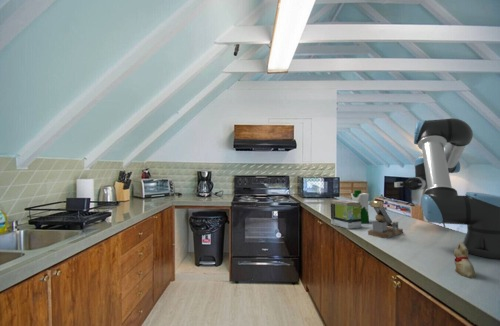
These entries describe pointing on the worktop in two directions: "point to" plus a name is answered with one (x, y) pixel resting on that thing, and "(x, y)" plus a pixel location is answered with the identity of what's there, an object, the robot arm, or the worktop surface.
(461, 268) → the chocolate bunny
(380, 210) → the lever
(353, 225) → the tea box
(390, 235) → the bench
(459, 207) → the robot arm
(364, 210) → the milk carton
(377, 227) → the grey block
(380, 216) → the walnut
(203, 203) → the worktop surface
